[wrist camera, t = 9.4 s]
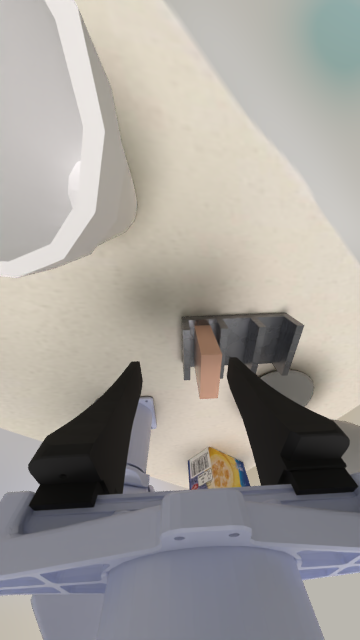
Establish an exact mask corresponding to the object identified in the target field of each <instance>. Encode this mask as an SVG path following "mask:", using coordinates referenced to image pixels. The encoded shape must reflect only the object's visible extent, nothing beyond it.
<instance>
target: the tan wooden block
mask: <svg viewBox="0 0 360 640" xmlns="http://www.w3.org/2000/svg"><path fill="white" fill-rule="evenodd" d="M221 362H222V352H221V350H220V348H219V345H218V343H217V340H216V338H215V336H214V333H213V331H212V329H211V326H210V325H198V326H194V366H195V373H196V379H197V385H198V391H199V397H200V399H209V398H218V391H219V381H220V371H221Z"/></svg>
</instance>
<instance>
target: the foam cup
mask: <svg viewBox="0 0 360 640" xmlns="http://www.w3.org/2000/svg"><path fill="white" fill-rule="evenodd" d="M137 205H138V204H137V199H136V193H135V188H134V183H133V180H132V176H131V173H130V170H129V166H128V163H127V159H126V156H125V152H124V149H123V146H122V141H121V136H120V130H119V125H118V120H117V115H116V110H115V105H114V99H113V94H112V89H111V86H110V83H109V81H108V78H107V76H106V74H105V71H104V69H103V66H102V64H101V62H100V59H99V57H98V54H97V52H96V50H95V47H94V45H93V42H92V40H91V38H90V35H89V33H88V30H87V28H86V26H85V23H84V21H83V18H82V16H81V13H80V11H79V9H78V6H77V4H76V2H75V0H0V276H3V277H13V278H19V277H23V276H27V275H31V274H35V273H39V272H43V271H46V270H50V269H54V268H57V267H60V266H62V265H65V264H67V263H70V262H72V261H75V260H77V259H80V258H82V257H85V256H87V255H90V254H92V252H93V251H94V250H95V248H96V247H97V246H98V245H100V244H102V243H104V242H106V241H108V240H110V239H112V238H114V237H116V236H118V235H120V234H122V233H124V232H126V231H127V229H128V228H129V227H130V225H131V224H132V223H133V222H134V220H135V215H136V210H137Z"/></svg>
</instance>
